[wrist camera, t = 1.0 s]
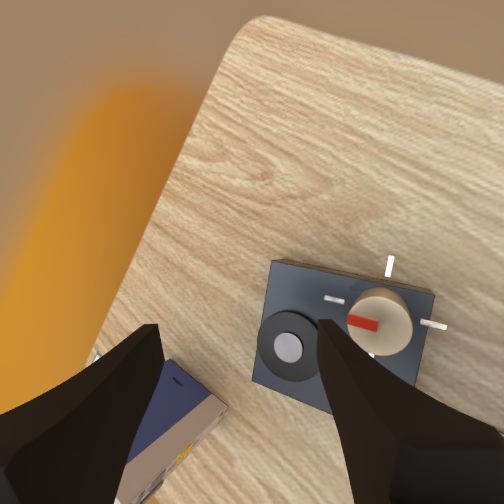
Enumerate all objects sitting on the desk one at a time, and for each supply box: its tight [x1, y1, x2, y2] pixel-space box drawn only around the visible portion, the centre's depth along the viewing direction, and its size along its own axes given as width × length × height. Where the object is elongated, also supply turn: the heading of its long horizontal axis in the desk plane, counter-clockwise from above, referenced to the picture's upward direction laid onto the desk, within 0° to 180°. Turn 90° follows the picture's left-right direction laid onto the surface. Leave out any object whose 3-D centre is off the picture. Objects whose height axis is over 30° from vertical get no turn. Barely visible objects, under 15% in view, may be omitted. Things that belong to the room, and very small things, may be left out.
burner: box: [257, 311, 319, 382], centre depth 21 cm, size 5×5×1 cm
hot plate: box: [252, 255, 447, 415], centre depth 21 cm, size 12×12×3 cm
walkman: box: [114, 359, 228, 504], centre depth 23 cm, size 8×3×12 cm, turn 66°
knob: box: [347, 287, 413, 356], centre depth 17 cm, size 3×3×4 cm
